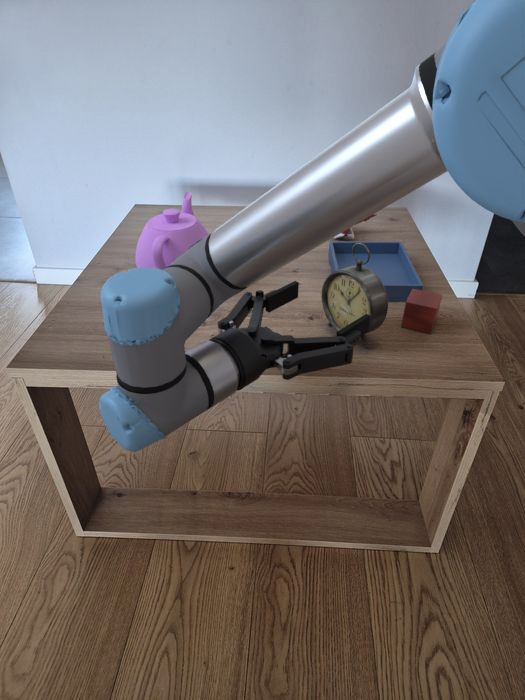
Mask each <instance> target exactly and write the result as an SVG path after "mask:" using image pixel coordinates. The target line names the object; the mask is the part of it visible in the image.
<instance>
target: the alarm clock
mask: <svg viewBox="0 0 525 700" xmlns="http://www.w3.org/2000/svg"><path fill="white" fill-rule="evenodd" d="M357 245H362V246H363V247H365V249H366V250H367V253H368V259H367V261H366V262H364V263H363V262H362V260H357V259H356V257H355V255H354V248H355V247H356V246H357ZM352 254H353V257H354V259H355V260H356V264H357V266H350V267H347V268H344V269H341V270H337V271H334V272H332V271H331V273H329V274H328V276H327V277H326V278H325V280H324V282H323V285H322V289H321V305H322V309H323V312H324V314H325V315H324V316H325V317H326V319H327V321H328V323H327V326H329V327H333V329H334V330H335V331H336V332H337V331H339V330H341V329H342V328H344V327H346V326H347V325H349V324H350V323H352V322H354V321H355V320H357V319H358V318H360V317H362V316H363V315H365V314H368V315H370V323H369V330H368V332H367V333H366V334H369V333H371V332H374V331H375V330H377V329H378V328H380V327H381V326H382V325H383V323H384V321H385V320H386V318H387V315H388V310H389V301H388V298H387V293H386V290H385V288H384V285H383V284H382V282H381V280H380V279H379V278H378V276H377V275H376V274H375V273H374V272H372V271H371V270H369V269H368V268H366V267H363V266H362V264H366V263H367V262H368V261H369V259H370V252H369V249H368V248H367V246H365V245H364V244H362V243H356V244H355V245H354V246H353V248H352ZM366 334H364V335H363V336H361V337H360V339H361V341H362V343H363V344H364V349H366V350H367V349H369V347H370V346H369V344H368V341H367V336H366Z"/></svg>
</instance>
